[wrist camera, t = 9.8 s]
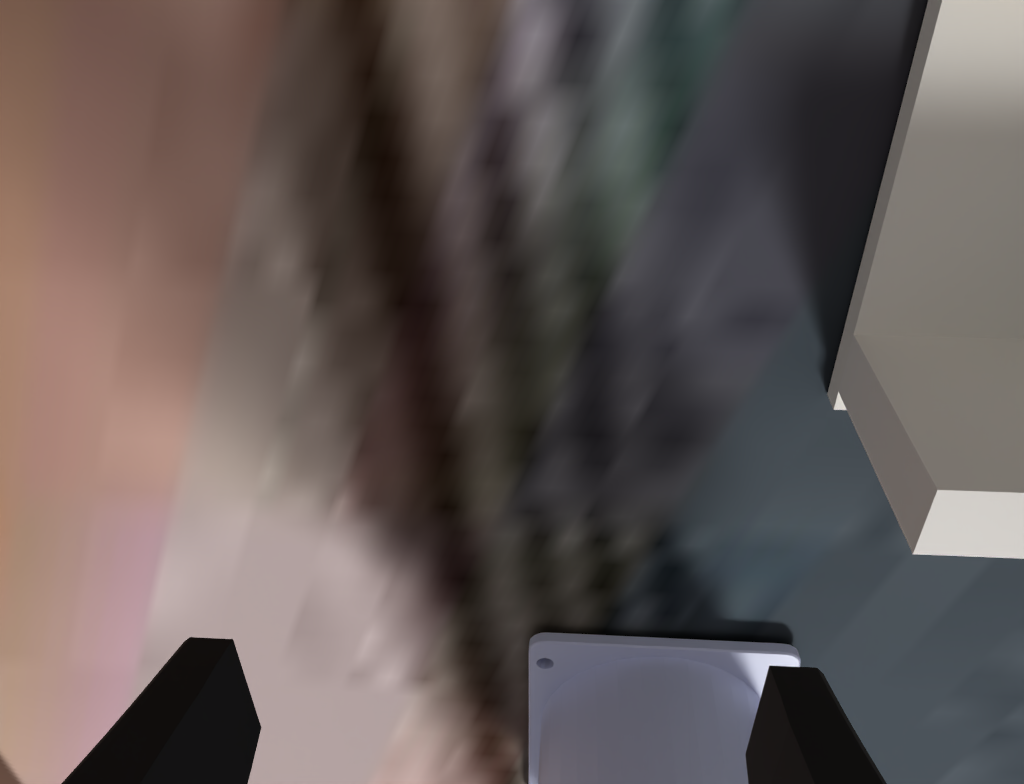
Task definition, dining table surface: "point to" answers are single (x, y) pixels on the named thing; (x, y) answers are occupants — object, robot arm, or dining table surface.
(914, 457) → the cleat board
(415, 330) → the dining table surface
